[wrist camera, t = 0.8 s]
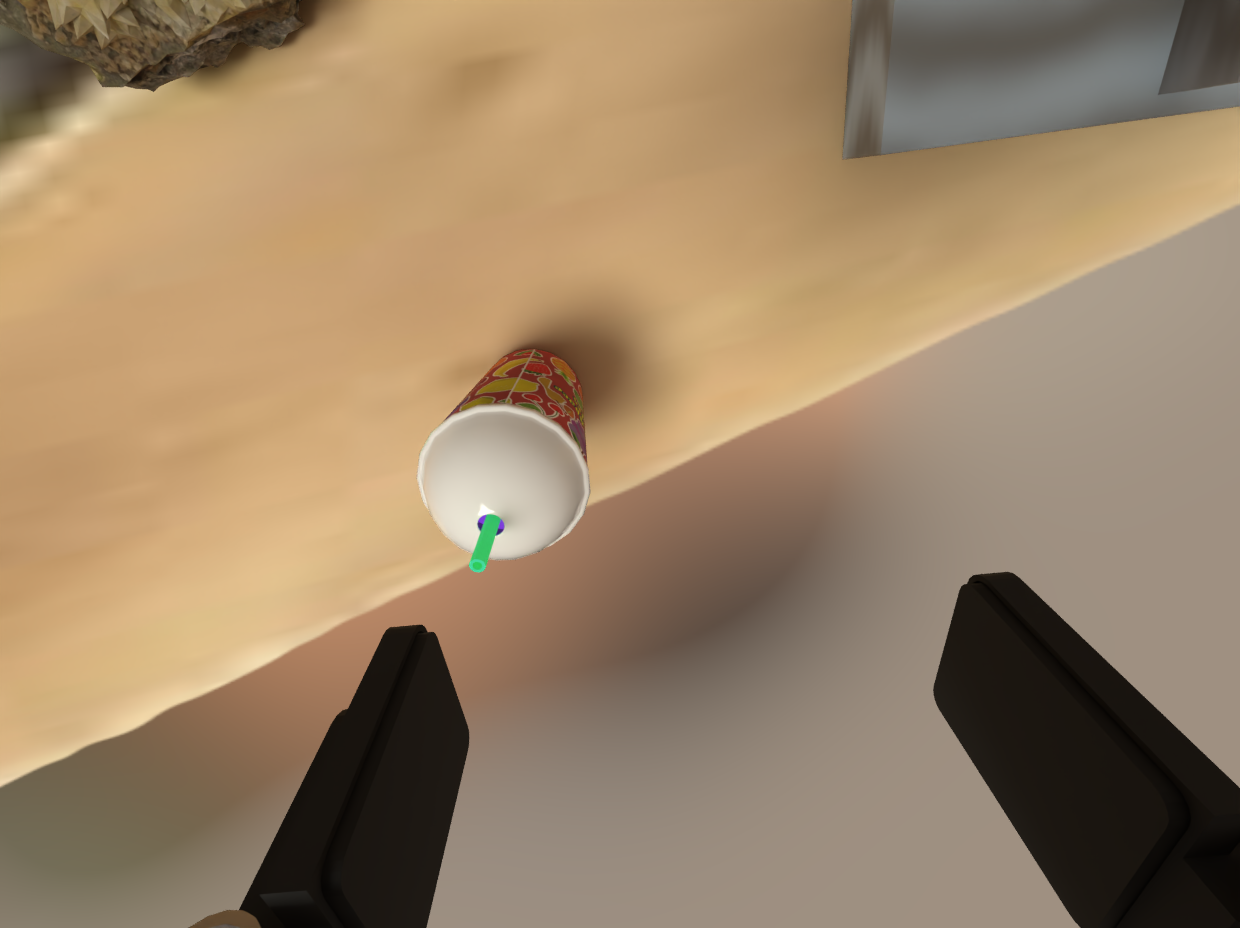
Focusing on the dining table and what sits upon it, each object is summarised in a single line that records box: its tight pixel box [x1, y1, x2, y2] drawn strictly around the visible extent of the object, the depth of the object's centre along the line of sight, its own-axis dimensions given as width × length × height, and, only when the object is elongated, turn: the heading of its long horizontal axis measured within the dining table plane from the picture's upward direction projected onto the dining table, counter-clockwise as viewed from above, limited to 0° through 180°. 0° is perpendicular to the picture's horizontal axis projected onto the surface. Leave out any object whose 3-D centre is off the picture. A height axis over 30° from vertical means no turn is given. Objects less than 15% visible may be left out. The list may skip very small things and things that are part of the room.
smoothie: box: [417, 349, 590, 572], centre depth 30 cm, size 8×8×20 cm
